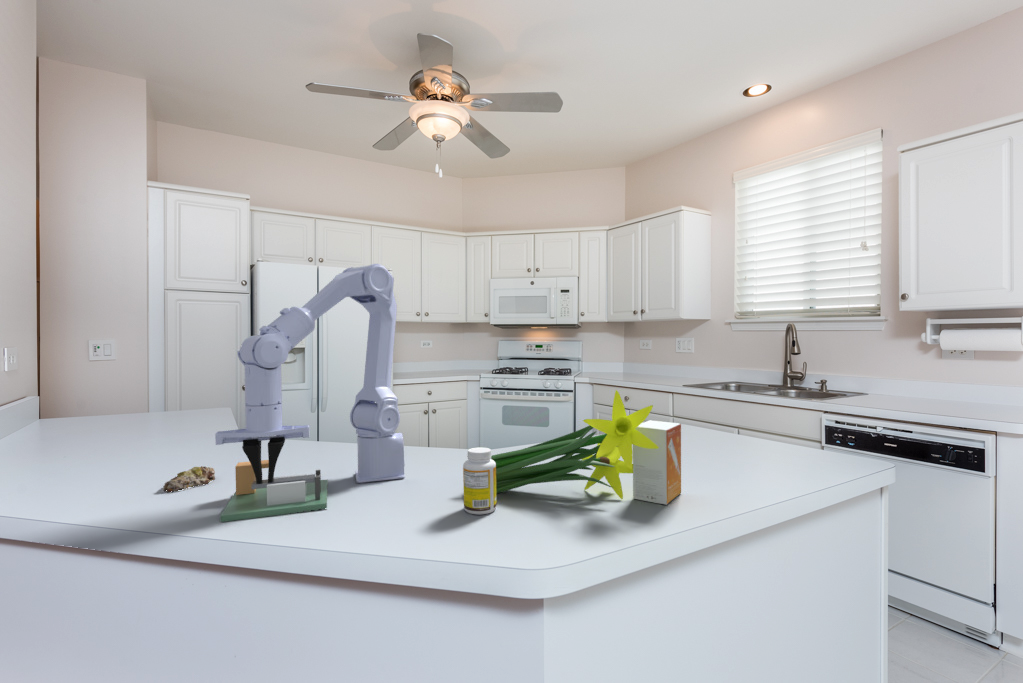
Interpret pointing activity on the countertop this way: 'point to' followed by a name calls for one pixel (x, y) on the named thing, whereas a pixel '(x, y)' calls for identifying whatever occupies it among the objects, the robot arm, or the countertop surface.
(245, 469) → the orange l-shaped block
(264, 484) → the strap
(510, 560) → the countertop surface
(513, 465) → the daffodil flowers
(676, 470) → the small box
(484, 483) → the supplement bottle
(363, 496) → the countertop surface
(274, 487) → the board
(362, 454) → the robot arm
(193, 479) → the mineral rock
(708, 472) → the countertop surface
